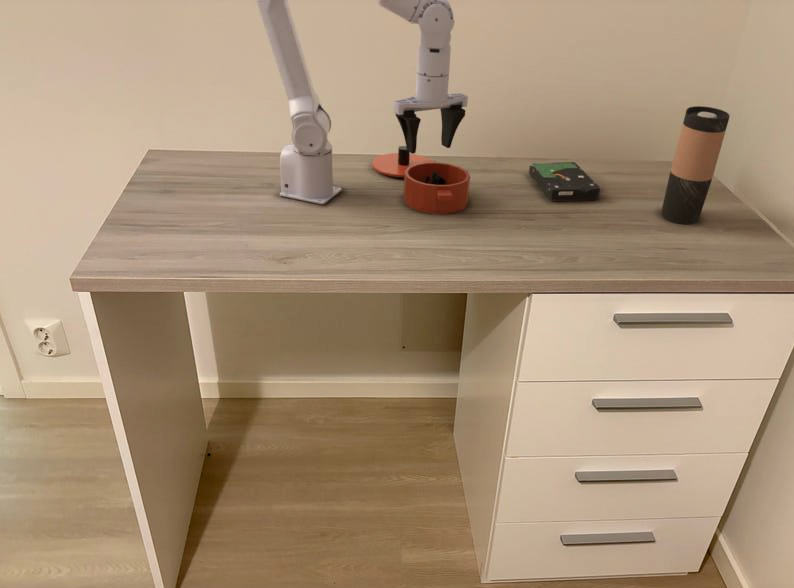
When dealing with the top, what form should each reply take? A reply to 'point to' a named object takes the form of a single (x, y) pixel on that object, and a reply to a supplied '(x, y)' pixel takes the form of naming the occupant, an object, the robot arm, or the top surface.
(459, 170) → the pan
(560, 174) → the disk drive
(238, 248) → the top surface
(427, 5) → the robot arm
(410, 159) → the lid
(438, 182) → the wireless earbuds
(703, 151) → the travel mug
